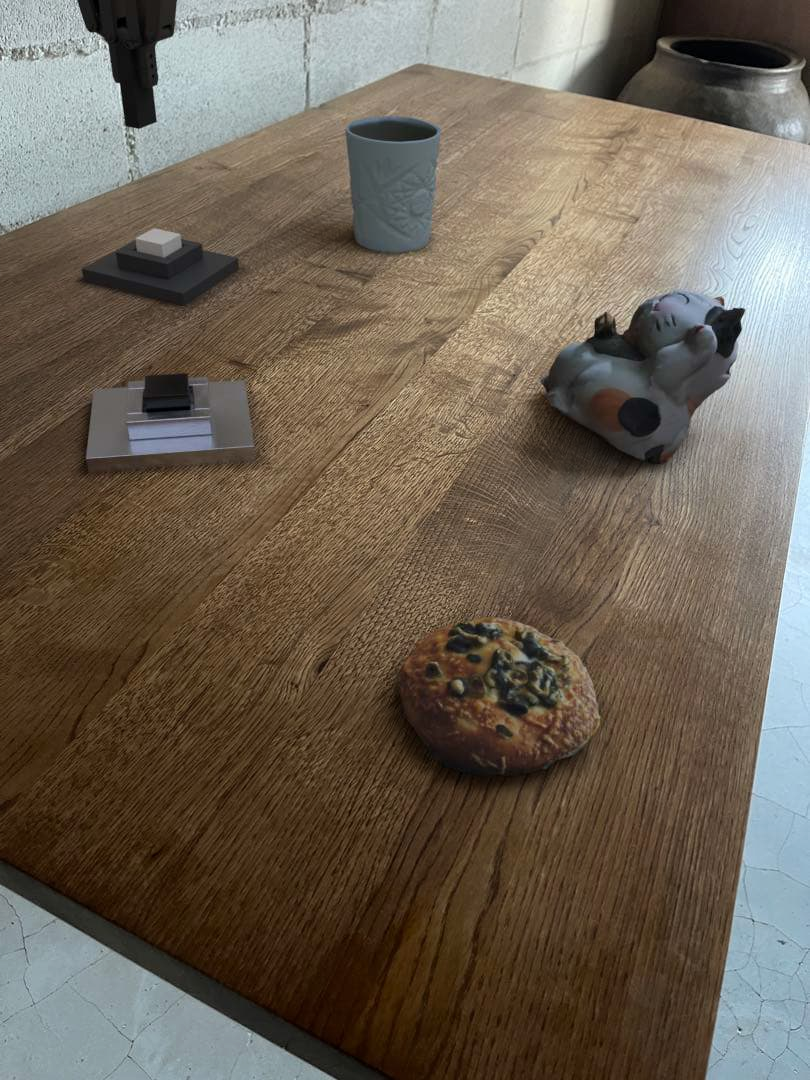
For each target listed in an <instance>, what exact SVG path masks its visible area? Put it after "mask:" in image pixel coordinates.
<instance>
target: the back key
mask: <svg viewBox="0 0 810 1080" xmlns="http://www.w3.org/2000/svg"><path fill="white" fill-rule="evenodd" d="M181 236H182V235H181V233H177V232H173V231H168V230H164V229H160V228H155V227H154V228H151V229H150V230H148V231H146V232H145V233H142V234H141V235H139V236H136V237H135V239H134V240H136V247H137V251H138V252H142V253H146V254H151V255H155V256H159V257H164V258H165V257H166V256H168V255H170V254H171V253H173V252H175V251H176V250H178V249H180V248H182V244H181V239H182V237H181Z"/></svg>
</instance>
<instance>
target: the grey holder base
mask: <svg viewBox="0 0 810 1080" xmlns="http://www.w3.org/2000/svg"><path fill="white" fill-rule="evenodd" d="M188 379H189V388H190V406H191V410H181V411H166V412H151V413H147V411H146V404H145V398H144V392H145V379H143V380H130V381H128V382H127V386H126V387H125V386H124V387H123V386H122V387H110V388H109V387H108V388H107V387H105V388H93V393H92V400H91V401H92V402H91V410H90V411H91V412H90V418H89V428H88V436H87V446H86V453H85V462H86V466H87V470H88V474H98V473H99V474H101V473H112V472H113V473H114V472H125V471H126V472H127V471H138V470H151V469H153V470H154V469H162V468H163V469H165V468H176V467H190V466H200V465H201V466H203V465H204V466H205V465H216V464H229V463H242V462H243V463H244V462H255V461H256V453H255V443H254V436H253V435H254V434H253V427H252V420H251V413H250V407H249V406H250V405H249V399H248V398H249V397H248V392H247V385H246V379H240V380H239V379H237V380H223V381H209V377H208V376H197V377H188Z"/></svg>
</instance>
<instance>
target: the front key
mask: <svg viewBox="0 0 810 1080" xmlns="http://www.w3.org/2000/svg"><path fill="white" fill-rule="evenodd" d="M188 378H189V373H187V372H186V373H185V372H184V373H167V374H152V375H144V380H145V392H144V398H145V404H146V411H147V413H151V412H166V411H181V410H191V406H190V388H189V379H188Z"/></svg>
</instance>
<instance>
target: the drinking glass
mask: <svg viewBox="0 0 810 1080" xmlns="http://www.w3.org/2000/svg"><path fill="white" fill-rule="evenodd" d="M441 135H442V130H441V128H440V127H439V126H438V125H437V124H435V123H433V122H431V121H428V120H424V119H421V118H417V117H416V118H415V117H410V116H400V115H399V116H397V115H383V116H382V115H381V116H370V117H364V118H360V119H356V120H353V121H351V122H349V123H348V124H347V125H346V126H345V139H346V150H347V157H348V169H349V177H350V180H349V187H350V200H351V204H352V205H351V206H352V210H353V214H352V221H353V222H352V223H353V234H354V235H353V236H354V239H355V241H356V243H357V244H358V245H360V246H362V247H363V248H366V249H368V250H372V251H375V252H381V253H389V254H396V253H397V254H398V253H399V254H400V253H408V252H409V253H410V252H417V251H419V250H422V249H424V248H425V247H426V246H427V245H428V244H429V242H430V237H431V231H432V220H433V219H432V216H433V207H434V201H435V192H436V191H435V190H436V179H437V174H436V170H437V168H438V159H439V151H440V145H441V144H440V143H441Z"/></svg>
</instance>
